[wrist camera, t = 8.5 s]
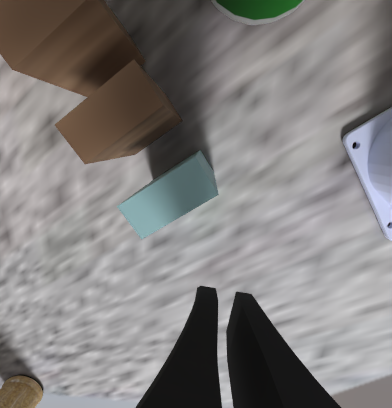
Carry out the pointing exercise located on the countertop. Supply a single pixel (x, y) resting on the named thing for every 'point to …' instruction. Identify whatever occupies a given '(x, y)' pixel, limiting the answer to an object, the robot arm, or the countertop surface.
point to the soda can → (256, 10)
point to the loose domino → (170, 195)
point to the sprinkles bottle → (20, 393)
